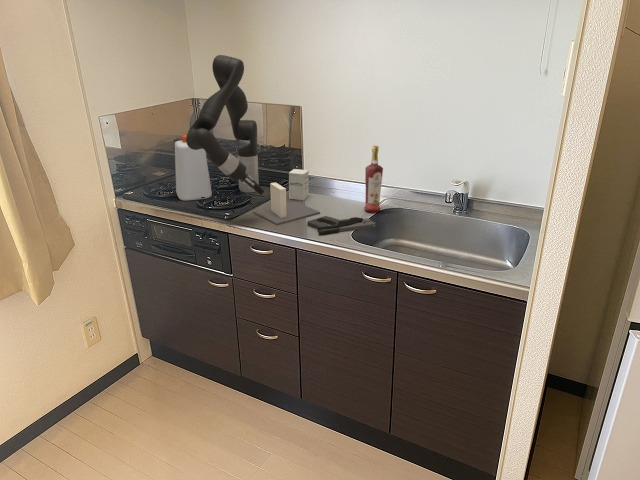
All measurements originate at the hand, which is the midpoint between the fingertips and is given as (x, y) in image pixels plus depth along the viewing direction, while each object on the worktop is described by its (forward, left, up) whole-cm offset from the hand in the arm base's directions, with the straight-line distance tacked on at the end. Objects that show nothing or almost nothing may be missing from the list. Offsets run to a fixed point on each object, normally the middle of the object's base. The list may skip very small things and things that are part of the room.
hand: (262, 192), depth 204 cm
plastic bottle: (-45, -9, -11) cm, 47 cm away
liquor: (+21, +42, -11) cm, 48 cm away
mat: (+1, +11, -11) cm, 16 cm away
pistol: (+26, +20, -12) cm, 35 cm away
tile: (+1, +7, -10) cm, 12 cm away
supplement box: (-13, +28, -11) cm, 33 cm away
